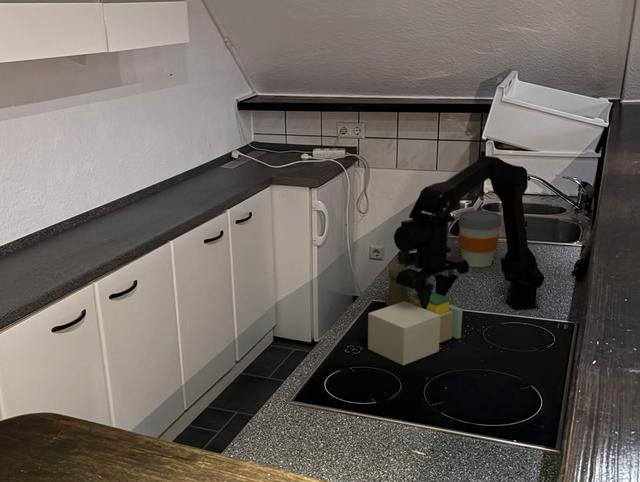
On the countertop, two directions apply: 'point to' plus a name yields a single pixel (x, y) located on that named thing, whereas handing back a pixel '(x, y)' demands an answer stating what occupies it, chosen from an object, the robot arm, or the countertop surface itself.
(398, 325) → the beige cube
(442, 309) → the sponge
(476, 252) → the reusable coffee cup
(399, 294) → the olive brown pawn
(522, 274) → the robot arm
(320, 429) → the countertop surface
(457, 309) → the drawer
